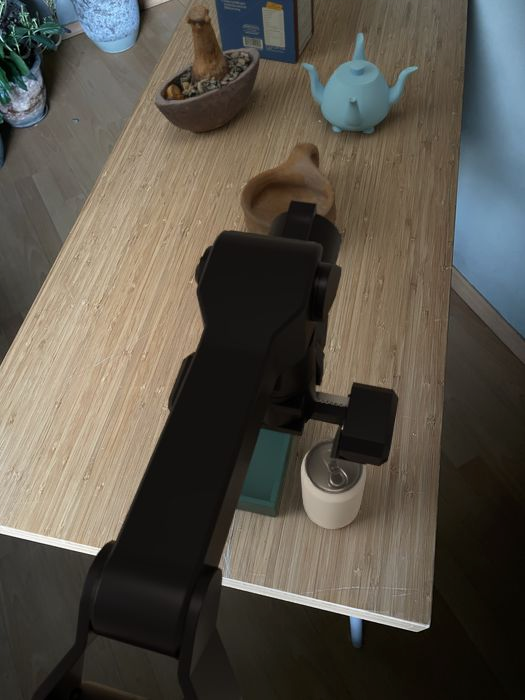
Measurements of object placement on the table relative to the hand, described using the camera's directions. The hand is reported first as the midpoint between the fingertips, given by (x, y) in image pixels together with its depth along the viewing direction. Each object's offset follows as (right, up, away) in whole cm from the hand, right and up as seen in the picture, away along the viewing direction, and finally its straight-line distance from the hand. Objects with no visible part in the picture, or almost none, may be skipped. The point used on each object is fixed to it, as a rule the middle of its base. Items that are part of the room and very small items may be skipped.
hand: (286, 443), depth 57 cm
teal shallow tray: (-5, -4, +13) cm, 15 cm away
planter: (-10, +49, +46) cm, 69 cm away
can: (+6, -8, +10) cm, 14 cm away
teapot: (+14, +48, +43) cm, 66 cm away
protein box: (-1, +68, +57) cm, 89 cm away
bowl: (+2, +29, +33) cm, 44 cm away
